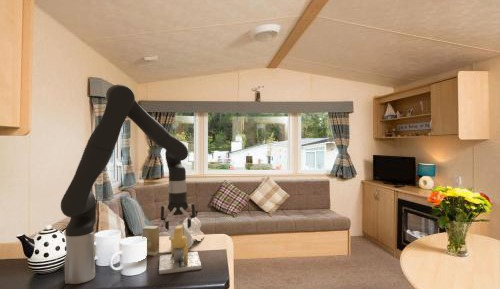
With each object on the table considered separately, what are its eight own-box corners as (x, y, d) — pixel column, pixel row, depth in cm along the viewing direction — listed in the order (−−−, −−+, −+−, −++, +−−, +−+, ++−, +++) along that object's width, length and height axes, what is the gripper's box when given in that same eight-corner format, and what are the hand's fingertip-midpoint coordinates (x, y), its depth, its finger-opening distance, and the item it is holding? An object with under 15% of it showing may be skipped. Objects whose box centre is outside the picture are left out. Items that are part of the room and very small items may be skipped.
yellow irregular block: (185, 249, 122) (185, 231, 122) (169, 250, 122) (168, 232, 121) (188, 240, 134) (187, 223, 134) (173, 240, 134) (172, 224, 134)
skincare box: (142, 255, 139) (141, 228, 139) (147, 251, 143) (146, 225, 143) (155, 255, 138) (154, 228, 138) (160, 252, 142) (159, 225, 142)
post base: (159, 274, 118) (158, 249, 118) (160, 259, 134) (159, 237, 134) (201, 268, 122) (200, 245, 122) (197, 254, 138) (196, 233, 138)
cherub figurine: (164, 227, 145) (181, 212, 165) (167, 252, 147) (183, 235, 166) (191, 227, 143) (204, 212, 163) (193, 253, 144) (207, 235, 164)
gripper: (159, 193, 126) (160, 233, 126) (195, 191, 130) (196, 229, 130) (160, 190, 133) (161, 228, 134) (193, 188, 137) (194, 225, 137)
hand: (178, 228), depth 132 cm, fingers open, 8 cm apart
